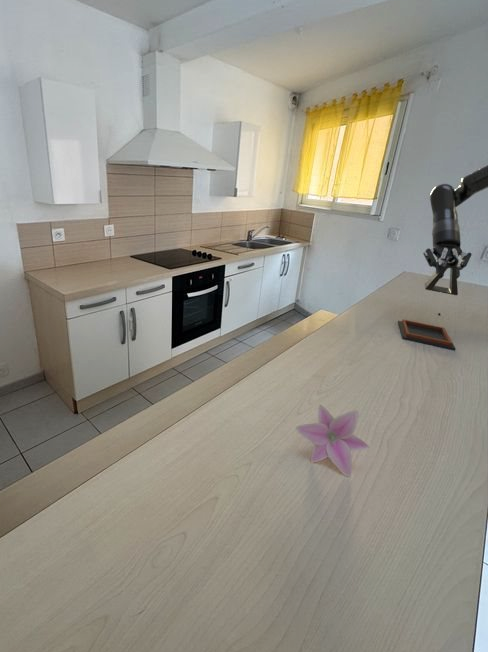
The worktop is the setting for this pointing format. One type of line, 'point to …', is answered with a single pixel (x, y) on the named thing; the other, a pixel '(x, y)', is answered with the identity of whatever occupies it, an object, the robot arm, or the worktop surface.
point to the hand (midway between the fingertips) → (448, 277)
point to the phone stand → (434, 278)
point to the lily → (334, 438)
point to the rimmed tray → (425, 334)
